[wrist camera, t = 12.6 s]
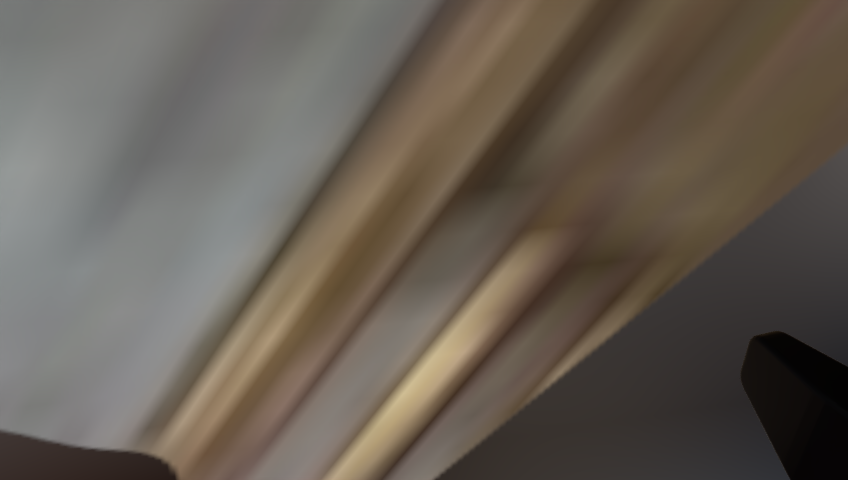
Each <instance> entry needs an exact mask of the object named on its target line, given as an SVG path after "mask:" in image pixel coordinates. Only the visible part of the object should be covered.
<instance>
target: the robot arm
mask: <svg viewBox="0 0 848 480" xmlns="http://www.w3.org/2000/svg"><path fill="white" fill-rule="evenodd" d="M741 382H742V385H743V388H744V390H745V392H746V394H747V396H748V398H749V400H750V402H751V404H752V406H753V408H754V410H755V412H756V414H757V416H758V418H759V420H760V422H761V424H762V426H763V428H764V430H765V432H766V434H767V436H768V438H769V440H770V442H771V444H772V445H773V448H774V450H775V452H776V453H777V456H778V458H779V460H780V461H781V463H782V465H783V467H784V469H785V471H786V473H787V475H788V476H789V478H790V480H848V366H846V365H844V364H842V363H840V362H838V361H836V360H835V359H833V358H831V357H829V356H827V355H825V354H824V353H822V352H820V351H818V350H816V349H814V348H812V347H811V346H809V345H807V344H805V343H803V342H801V341H800V340H798V339H796V338H794V337H792V336H790V335H788V334H786V333H784V332H780V331H773V332H769V333H765V334H761V335H756V336H754V337H753V338H752V339H751V340H750V342H749V345H748V348H747V351H746V355H745V358H744V361H743V365H742V368H741Z"/></svg>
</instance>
